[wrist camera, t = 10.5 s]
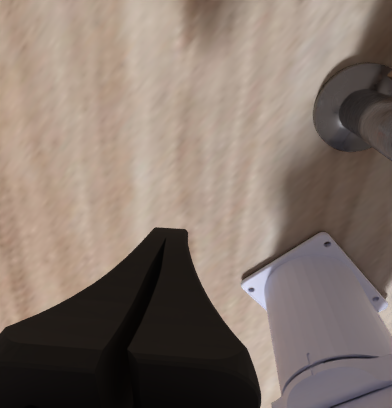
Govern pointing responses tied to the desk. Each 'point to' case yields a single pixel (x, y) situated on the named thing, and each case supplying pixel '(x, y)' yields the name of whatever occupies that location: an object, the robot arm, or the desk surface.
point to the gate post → (356, 109)
